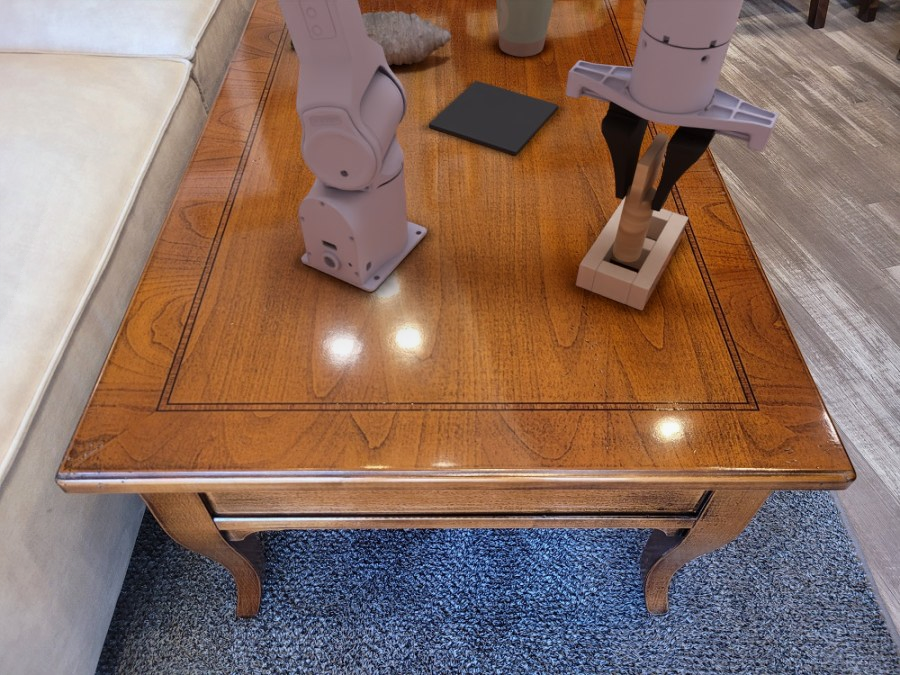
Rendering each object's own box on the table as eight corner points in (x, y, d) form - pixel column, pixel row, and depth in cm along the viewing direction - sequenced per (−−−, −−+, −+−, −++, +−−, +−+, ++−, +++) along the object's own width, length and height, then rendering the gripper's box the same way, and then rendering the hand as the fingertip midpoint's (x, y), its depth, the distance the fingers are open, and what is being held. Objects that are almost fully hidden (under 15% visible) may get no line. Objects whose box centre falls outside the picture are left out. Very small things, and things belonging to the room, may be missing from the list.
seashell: (457, 50, 82) (429, -16, 77) (358, 98, 85) (325, 37, 80) (452, 36, 87) (426, -27, 82) (359, 82, 90) (328, 23, 85)
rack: (681, 238, 64) (689, 216, 62) (642, 311, 58) (649, 290, 56) (619, 217, 66) (625, 195, 64) (575, 285, 60) (579, 264, 58)
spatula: (629, 274, 57) (659, 169, 49) (602, 264, 58) (627, 160, 50) (648, 241, 60) (679, 137, 52) (623, 232, 60) (649, 128, 52)
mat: (515, 156, 73) (516, 152, 72) (428, 127, 76) (428, 123, 76) (558, 108, 79) (558, 104, 79) (475, 84, 83) (475, 80, 82)
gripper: (815, 30, 44) (745, 199, 54) (604, -18, 48) (577, 146, 59) (791, 78, 40) (720, 251, 50) (564, 21, 44) (542, 190, 55)
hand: (641, 198), depth 54 cm, fingers closed on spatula, 2 cm apart
